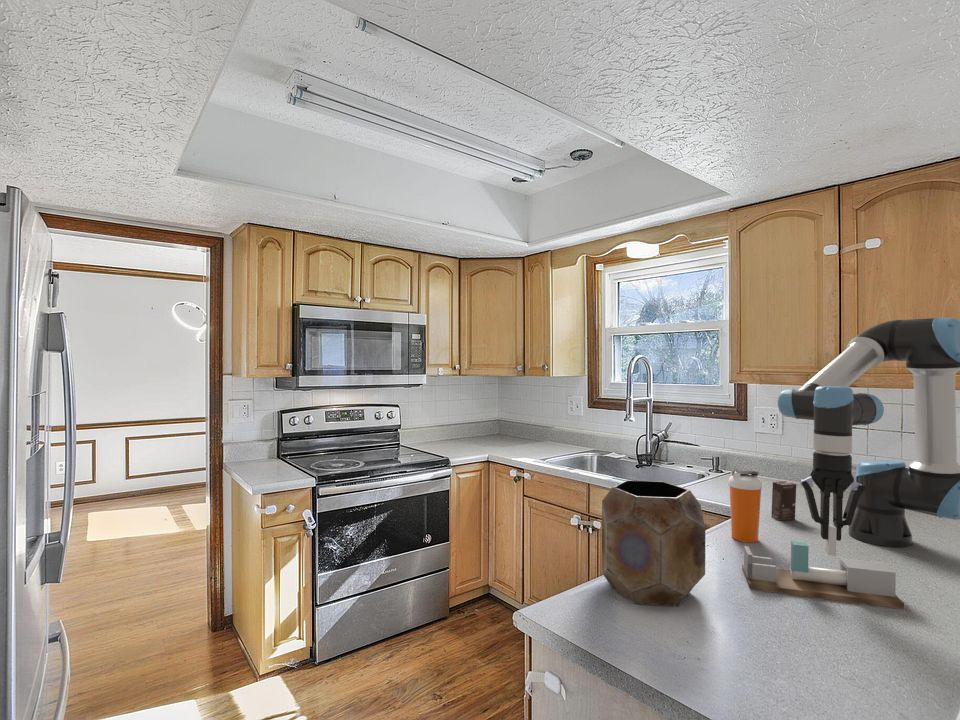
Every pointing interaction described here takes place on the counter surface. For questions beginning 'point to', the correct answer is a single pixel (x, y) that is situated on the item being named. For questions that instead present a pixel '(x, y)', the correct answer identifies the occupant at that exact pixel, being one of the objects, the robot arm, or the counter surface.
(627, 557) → the planter
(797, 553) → the bolt
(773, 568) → the socket
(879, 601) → the board
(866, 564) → the sleeve
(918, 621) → the counter surface
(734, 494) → the shaker bottle
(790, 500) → the box
